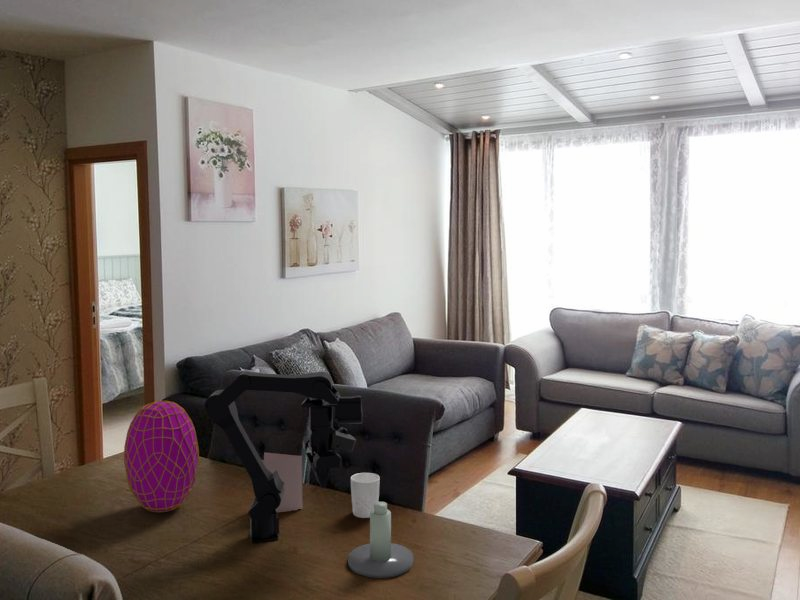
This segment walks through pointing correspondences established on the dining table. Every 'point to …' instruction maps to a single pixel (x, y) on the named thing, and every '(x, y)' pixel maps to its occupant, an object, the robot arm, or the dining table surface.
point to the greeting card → (287, 478)
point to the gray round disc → (390, 568)
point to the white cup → (364, 493)
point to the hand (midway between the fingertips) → (321, 485)
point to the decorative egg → (161, 456)
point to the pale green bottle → (380, 532)
